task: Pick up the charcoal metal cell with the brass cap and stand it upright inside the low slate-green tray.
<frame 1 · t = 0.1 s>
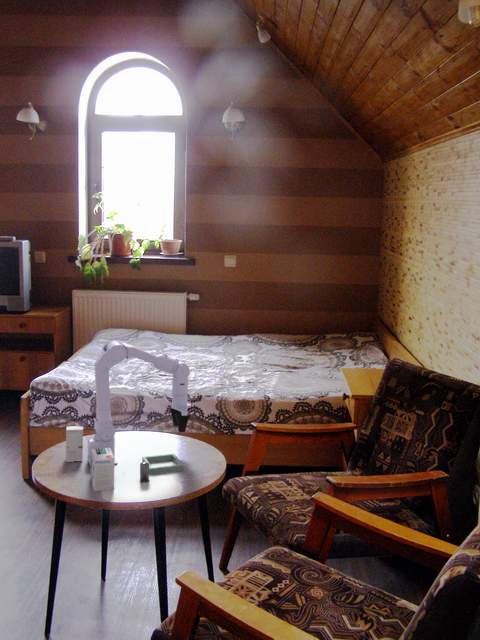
hand: (179, 428, 247), 10 cm above the table, tool pointing down, fingers open, 7 cm apart
skincare box: (74, 460, 240), on the table
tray: (162, 466, 236), on the table
cell: (144, 480, 223), on the table
light bulb box: (102, 484, 219), on the table
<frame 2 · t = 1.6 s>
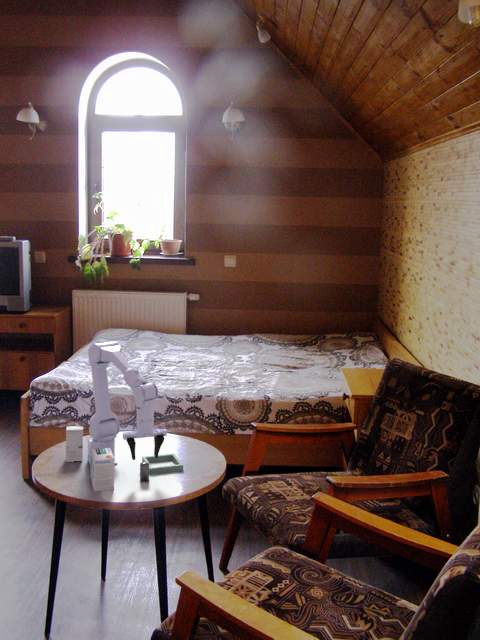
hand: (144, 457, 221), 8 cm above the table, tool pointing down, fingers open, 7 cm apart
nothing on the table moved.
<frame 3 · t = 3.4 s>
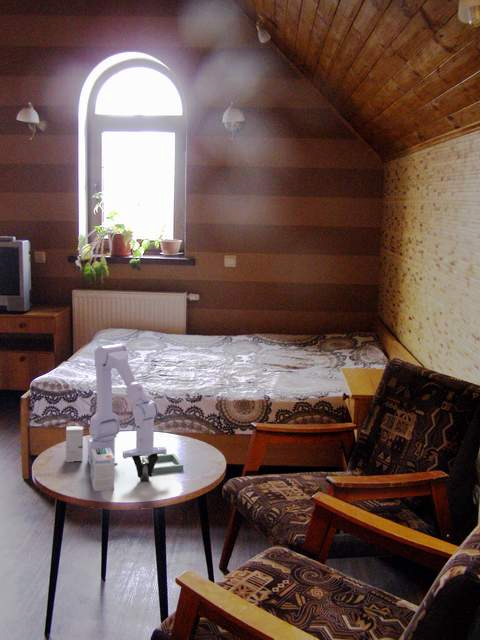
hand: (144, 476, 222), 2 cm above the table, tool pointing down, fingers closed on cell, 3 cm apart
cell: (144, 480, 223), on the table, touching gripper
everything else where it was.
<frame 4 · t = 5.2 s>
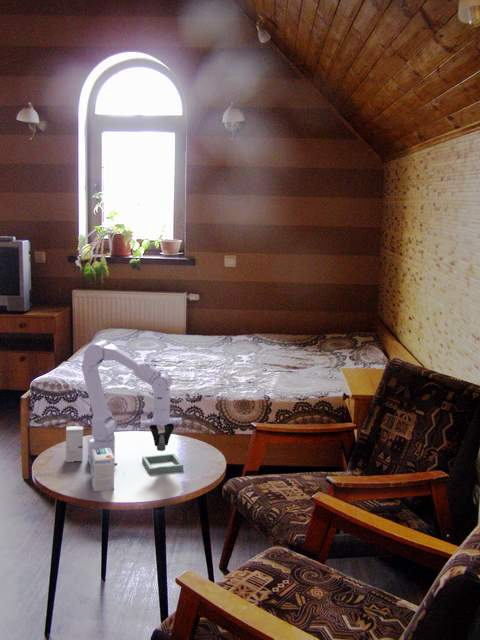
hand: (161, 444, 233), 8 cm above the table, tool pointing down, fingers closed on cell, 3 cm apart
cell: (161, 449, 234), point 7 cm above the table, touching gripper
everything else where it was.
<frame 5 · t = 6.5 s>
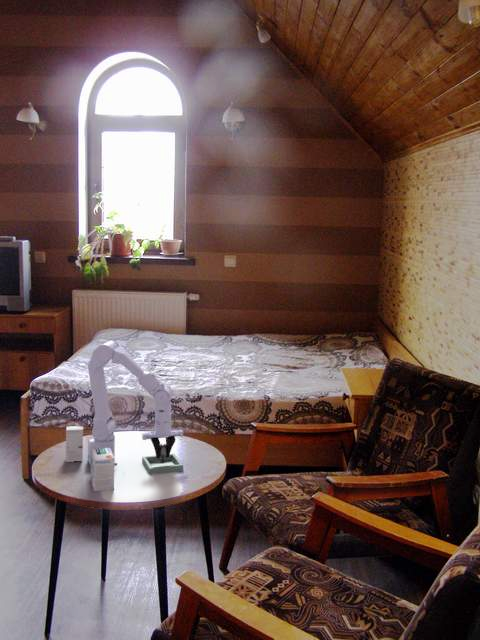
hand: (162, 457, 235), 3 cm above the table, tool pointing down, fingers closed on cell, 3 cm apart
cell: (162, 461, 236), point 2 cm above the table, touching gripper
everything else where it was.
when the fingers open (3 cm above the table, at t = 7.3 s): cell drops 1 cm, resting in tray.
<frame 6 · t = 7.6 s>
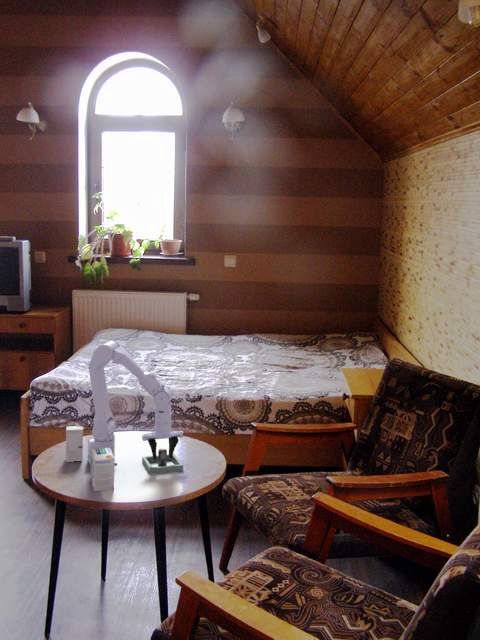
hand: (162, 457, 236), 3 cm above the table, tool pointing down, fingers open, 5 cm apart
cell: (162, 466, 236), resting in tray
everything else where it was.
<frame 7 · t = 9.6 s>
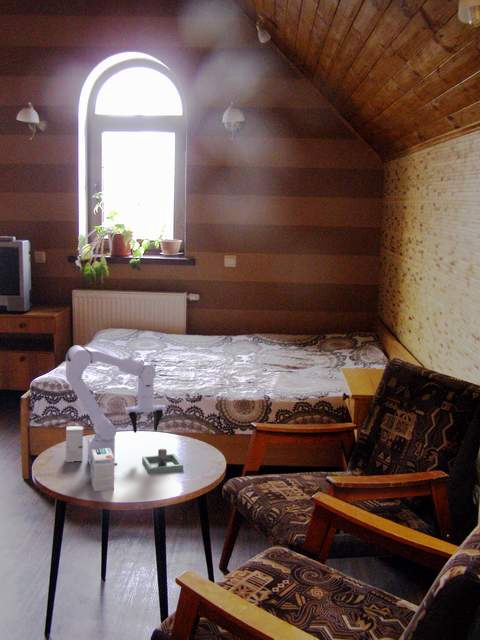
hand: (145, 430, 244), 10 cm above the table, tool pointing down, fingers open, 7 cm apart
nothing on the table moved.
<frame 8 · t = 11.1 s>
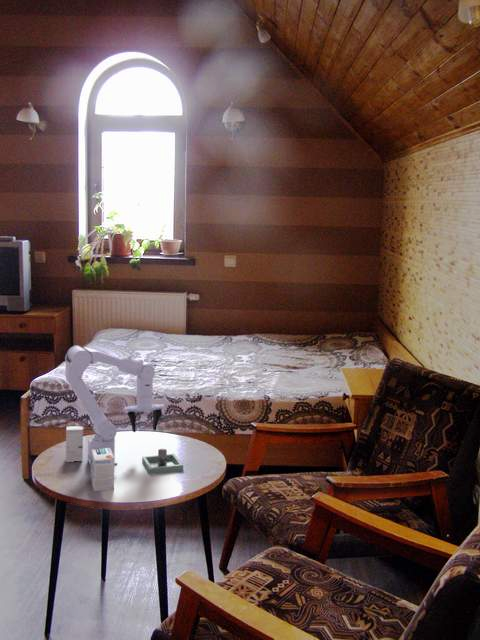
hand: (144, 430, 244), 10 cm above the table, tool pointing down, fingers open, 7 cm apart
nothing on the table moved.
at the end: cell inside the target area on the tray (0.1 cm from its centre), point 0.0 cm above the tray's base; cell tilted 0°; the gripper is holding nothing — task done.
